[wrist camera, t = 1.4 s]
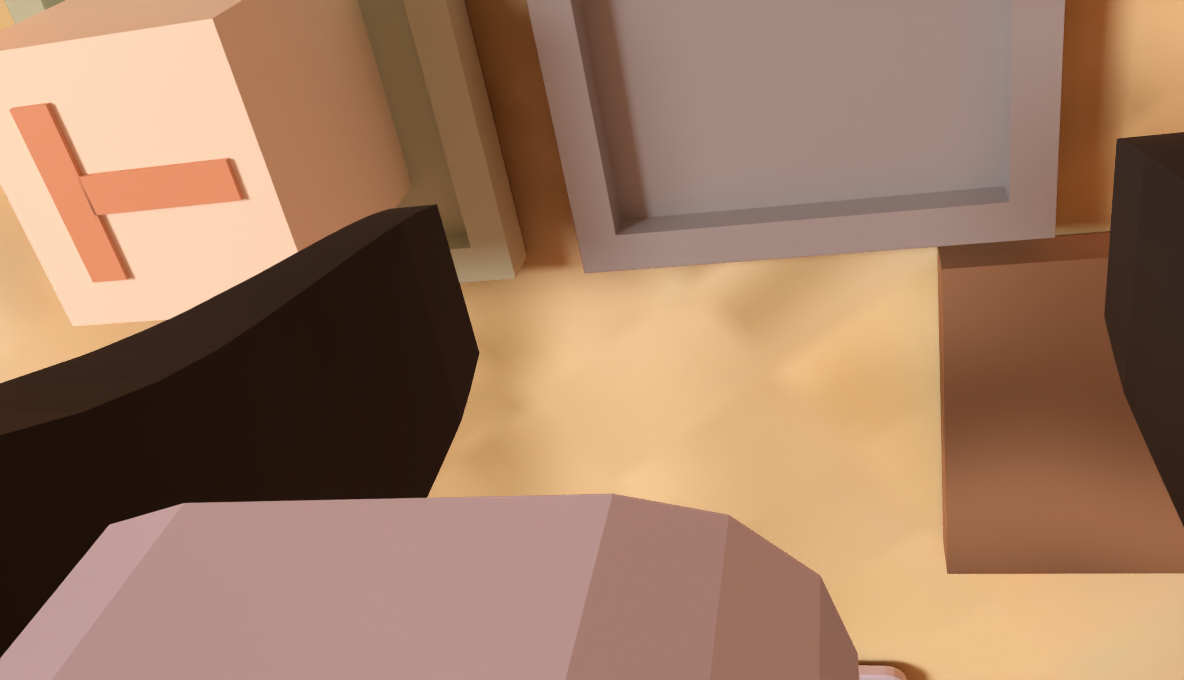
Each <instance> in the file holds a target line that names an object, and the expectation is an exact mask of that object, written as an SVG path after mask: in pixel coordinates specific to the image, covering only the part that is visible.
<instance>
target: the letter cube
mask: <svg viewBox="0 0 1184 680" xmlns="http://www.w3.org/2000/svg"><path fill="white" fill-rule="evenodd" d="M0 184H1V186H2V188H3V190H4V192H5V194H6V196H7V198H8V200H9V202H10V204H11V206H12V208H13V210H14V212H15V214H16V216H17V217H18V219H19V221H20V223H21V225H22V227H23V229H24V231H25V233H26V235H27V237H28V239H29V241H30V243H31V245H32V247H33V249H34V251H35V253H36V255H37V257H38V259H39V261H40V263H41V265H42V267H43V269H44V271H45V272H46V274H47V276H48V278H49V280H50V282H51V284H52V286H53V288H54V290H55V292H56V294H57V296H58V298H59V300H60V302H61V304H62V306H63V308H64V310H65V312H66V314H67V316H68V318H69V320H70V322H71V324H72V326H83V325H97V324H111V323H125V322H139V321H153V320H167V319H171V318H173V317H175V316H177V315H179V314H181V313H183V312H185V311H187V310H189V309H191V308H193V307H195V306H197V305H199V304H201V303H203V302H205V301H207V300H209V299H211V298H212V297H214V296H216V295H218V294H220V293H222V292H224V291H226V290H228V289H230V288H232V287H234V286H236V285H238V284H240V283H242V282H244V281H245V280H247V279H249V278H251V277H253V276H255V275H257V274H259V273H261V272H262V271H264V270H266V269H268V268H270V267H272V266H273V265H275V264H277V263H279V262H281V261H282V260H284V259H286V258H288V257H290V256H291V255H293V254H295V253H297V252H299V251H301V250H302V249H304V248H306V247H308V246H310V245H311V244H313V243H315V242H317V241H319V240H321V239H323V238H324V237H326V236H328V235H330V234H332V233H334V232H336V231H338V230H340V229H342V228H343V227H346V226H348V225H350V224H352V223H354V222H356V221H358V220H360V219H362V218H365V217H367V216H369V215H372V214H374V213H378V212H381V211H384V210H387V209H393V208H396V207H397V206H398V204H399V203H400V202H401V201H402V199H403V198H404V197H405V195H406V194H407V193H408V191H409V190H410V189H411V187H412V183H411V179H410V176H409V172H408V169H407V166H406V162H405V159H404V155H403V152H402V149H401V145H400V142H399V139H398V135H397V132H396V128H395V125H394V122H393V118H392V115H391V111H390V108H389V105H388V101H387V98H386V94H385V91H384V88H383V84H382V81H381V77H380V74H379V71H378V67H377V64H376V60H375V57H374V54H373V50H372V47H371V43H370V40H369V37H368V33H367V30H366V26H365V23H364V20H363V16H362V13H361V9H360V6H359V3H358V0H65V1H63V2H61V3H59V4H57V5H55V6H53V7H50V8H48V9H46V10H44V11H42V12H40V13H38V14H35V15H33V16H31V17H29V18H27V19H25V20H23V21H21V22H18V23H16V24H14V25H12V26H10V27H8V28H6V29H4V30H1V31H0Z"/></svg>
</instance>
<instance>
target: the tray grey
mask: <svg viewBox="0 0 1184 680" xmlns="http://www.w3.org/2000/svg"><path fill="white" fill-rule="evenodd" d="M526 1H527V6H528V11H529V15H530V20H531V25H532V29H533V34H534V39H535V43H536V48H537V53H538V57H539V62H540V67H541V71H542V76H543V81H544V85H545V90H546V95H547V99H548V104H549V109H550V113H551V118H552V123H553V128H554V132H555V137H556V142H557V146H558V151H559V156H560V160H561V165H562V170H563V174H564V179H565V184H566V188H567V193H568V198H569V202H570V207H571V212H572V216H573V221H574V226H575V230H576V235H577V240H578V244H579V249H580V254H581V258H582V263H583V268H584V272H585V273H595V272H608V271H621V270H635V269H648V268H661V267H674V266H687V265H700V264H714V263H727V262H740V261H753V260H766V259H779V258H793V257H806V256H819V255H832V254H845V253H858V252H872V251H885V250H898V249H911V248H924V247H937V246H951V245H964V244H977V243H990V242H1003V241H1016V240H1030V239H1043V238H1055V226H1056V202H1057V179H1058V155H1059V132H1060V108H1061V84H1062V61H1063V37H1064V14H1065V0H526Z"/></svg>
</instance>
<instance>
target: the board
mask: <svg viewBox="0 0 1184 680" xmlns="http://www.w3.org/2000/svg"><path fill="white" fill-rule="evenodd" d="M1109 242H1110V232H1102V233H1089V234H1076V235H1063V236H1055V238H1043V239H1030V240H1016V241H1003V242H990V243H977V244H964V245H951V246H937V249H938V297H939V345H940V394H941V442H942V490H943V539H944V551H945V558H946V566H947V574H1058V573H1184V527H1183V525H1182V522H1181V520H1180V518H1179V516H1178V514H1177V511H1176V509H1175V507H1174V505H1173V503H1172V500H1171V498H1170V496H1169V494H1168V491H1167V489H1166V487H1165V485H1164V483H1163V480H1162V478H1161V476H1160V474H1159V472H1158V469H1157V467H1156V465H1155V463H1154V461H1153V458H1152V456H1151V454H1150V452H1149V449H1148V447H1147V445H1146V443H1145V440H1144V438H1143V436H1142V434H1141V431H1140V429H1139V427H1138V425H1137V422H1136V420H1135V418H1134V415H1133V413H1132V411H1131V409H1130V406H1129V404H1128V402H1127V399H1126V397H1125V394H1124V392H1123V388H1122V384H1121V381H1120V377H1119V373H1118V370H1117V366H1116V363H1115V359H1114V355H1113V351H1112V347H1111V343H1110V339H1109V335H1108V331H1107V326H1106V322H1105V318H1104V312H1105V298H1106V284H1107V270H1108V256H1109Z"/></svg>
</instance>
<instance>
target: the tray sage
mask: <svg viewBox="0 0 1184 680" xmlns="http://www.w3.org/2000/svg"><path fill="white" fill-rule="evenodd" d="M4 1H5V3H6V5H7V7H8V9H9V12H10V14H11V16H12V18H13V20H14V22H15V24H16V23H18V22H21V21H23V20H25V19H27V18H29V17H31V16H33V15H35V14H38V13H40V12H42V11H44V10H46V9H48V8H50V7H53V6H55V5H57V4H59V3H61V2H63V1H65V0H4ZM358 3H359V6H360V9H361V13H362V16H363V20H364V23H365V26H366V30H367V33H368V37H369V40H370V43H371V47H372V50H373V54H374V57H375V60H376V64H377V67H378V71H379V74H380V77H381V81H382V84H383V88H384V91H385V94H386V98H387V101H388V105H389V108H390V111H391V115H392V118H393V122H394V125H395V128H396V132H397V135H398V139H399V142H400V145H401V149H402V152H403V155H404V159H405V162H406V166H407V169H408V172H409V176H410V179H411V183H412V187H411V189H410V190H409V191H408V193H407V194H406V195H405V197H404V198H403V199H402V201H401V202H400V203H399V204H398V206H397V207H396V208H403V207H414V206H424V205H435V204H437V206H438V209H439V213H440V216H441V220H442V223H443V227H444V230H445V234H446V237H447V241H448V244H449V248H450V252H451V255H452V259H453V262H454V266H455V269H456V273H457V276H458V280H459V283H463V282H476V281H490V280H503V279H516V277H517V275H518V273H519V271H520V269H521V267H522V265H523V263H524V261H525V259H526V257H527V255H526V251H525V246H524V242H523V238H522V234H521V230H520V226H519V222H518V218H517V214H516V209H515V205H514V201H513V197H512V193H511V189H510V185H509V181H508V177H507V173H506V168H505V164H504V160H503V156H502V152H501V148H500V144H499V140H498V136H497V131H496V127H495V123H494V119H493V115H492V111H491V107H490V103H489V99H488V94H487V90H486V86H485V82H484V78H483V74H482V70H481V66H480V62H479V58H478V53H477V49H476V45H475V41H474V37H473V33H472V29H471V25H470V21H469V16H468V12H467V8H466V4H465V0H358Z"/></svg>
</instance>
